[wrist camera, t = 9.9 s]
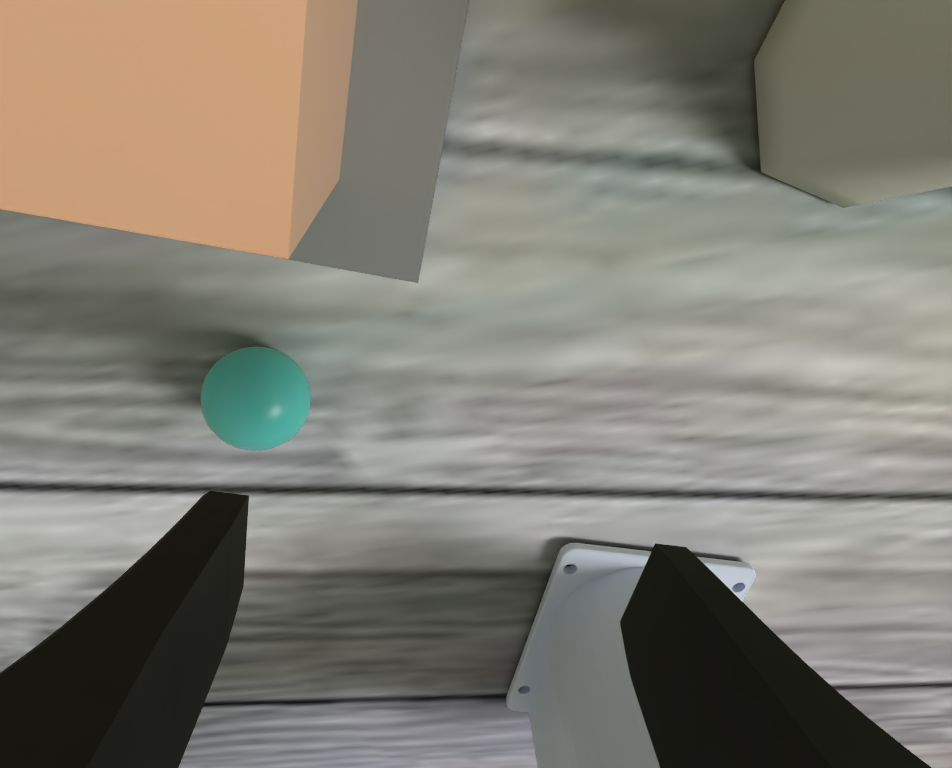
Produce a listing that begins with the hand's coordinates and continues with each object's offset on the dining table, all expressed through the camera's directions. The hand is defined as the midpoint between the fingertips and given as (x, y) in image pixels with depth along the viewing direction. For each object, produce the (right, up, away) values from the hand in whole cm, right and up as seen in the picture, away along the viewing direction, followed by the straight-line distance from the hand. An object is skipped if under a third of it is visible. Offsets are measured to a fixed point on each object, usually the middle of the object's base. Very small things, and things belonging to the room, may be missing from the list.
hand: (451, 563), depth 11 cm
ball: (-6, +3, +8) cm, 11 cm away
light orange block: (-5, +11, +4) cm, 13 cm away
